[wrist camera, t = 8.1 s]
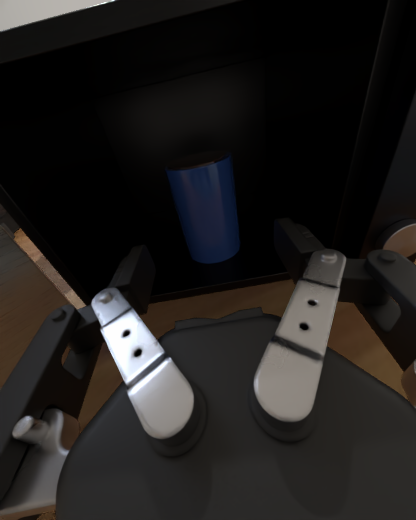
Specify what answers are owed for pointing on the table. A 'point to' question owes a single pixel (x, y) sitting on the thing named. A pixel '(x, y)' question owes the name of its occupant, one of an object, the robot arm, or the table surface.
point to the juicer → (8, 222)
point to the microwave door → (21, 302)
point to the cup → (206, 204)
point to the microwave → (209, 131)
